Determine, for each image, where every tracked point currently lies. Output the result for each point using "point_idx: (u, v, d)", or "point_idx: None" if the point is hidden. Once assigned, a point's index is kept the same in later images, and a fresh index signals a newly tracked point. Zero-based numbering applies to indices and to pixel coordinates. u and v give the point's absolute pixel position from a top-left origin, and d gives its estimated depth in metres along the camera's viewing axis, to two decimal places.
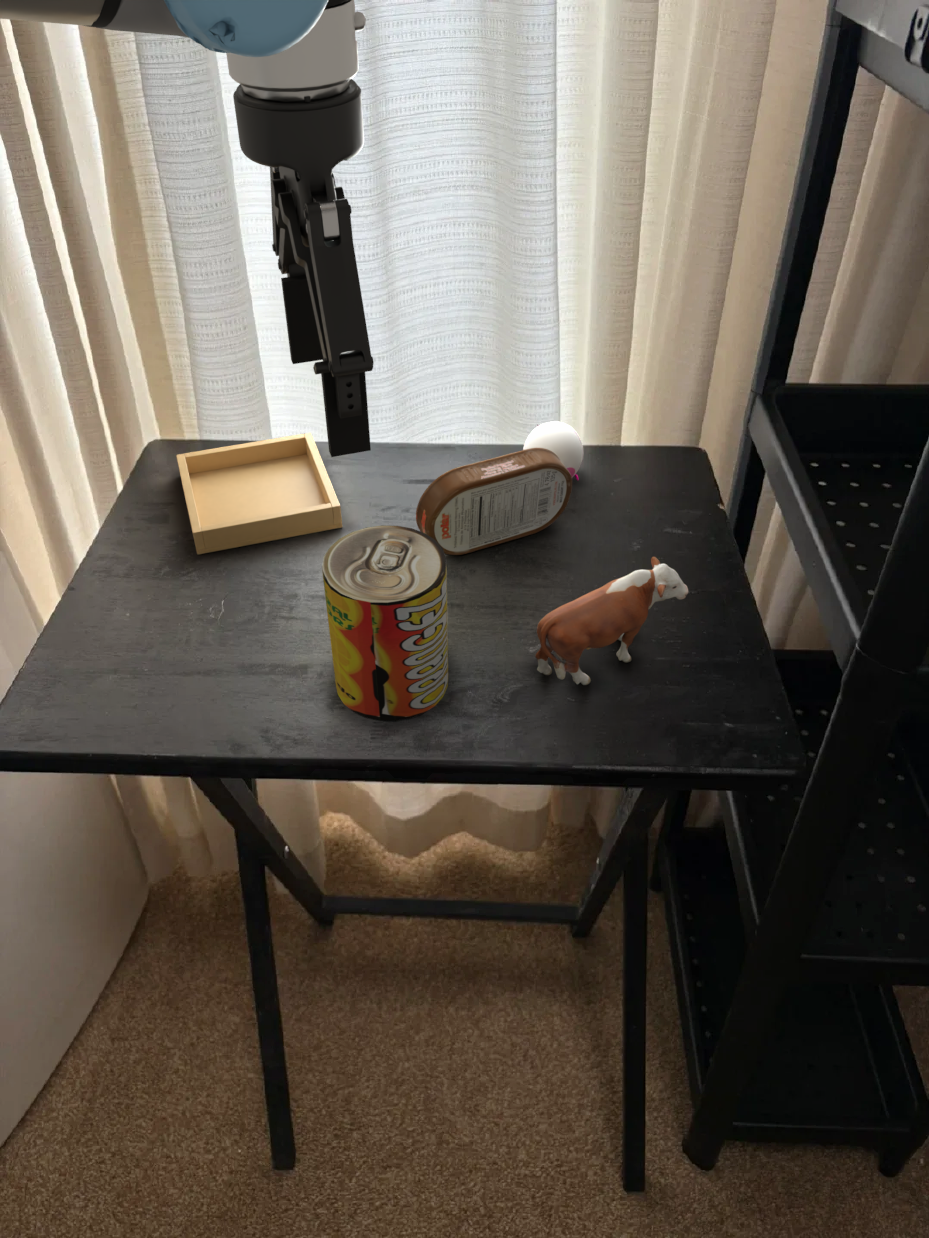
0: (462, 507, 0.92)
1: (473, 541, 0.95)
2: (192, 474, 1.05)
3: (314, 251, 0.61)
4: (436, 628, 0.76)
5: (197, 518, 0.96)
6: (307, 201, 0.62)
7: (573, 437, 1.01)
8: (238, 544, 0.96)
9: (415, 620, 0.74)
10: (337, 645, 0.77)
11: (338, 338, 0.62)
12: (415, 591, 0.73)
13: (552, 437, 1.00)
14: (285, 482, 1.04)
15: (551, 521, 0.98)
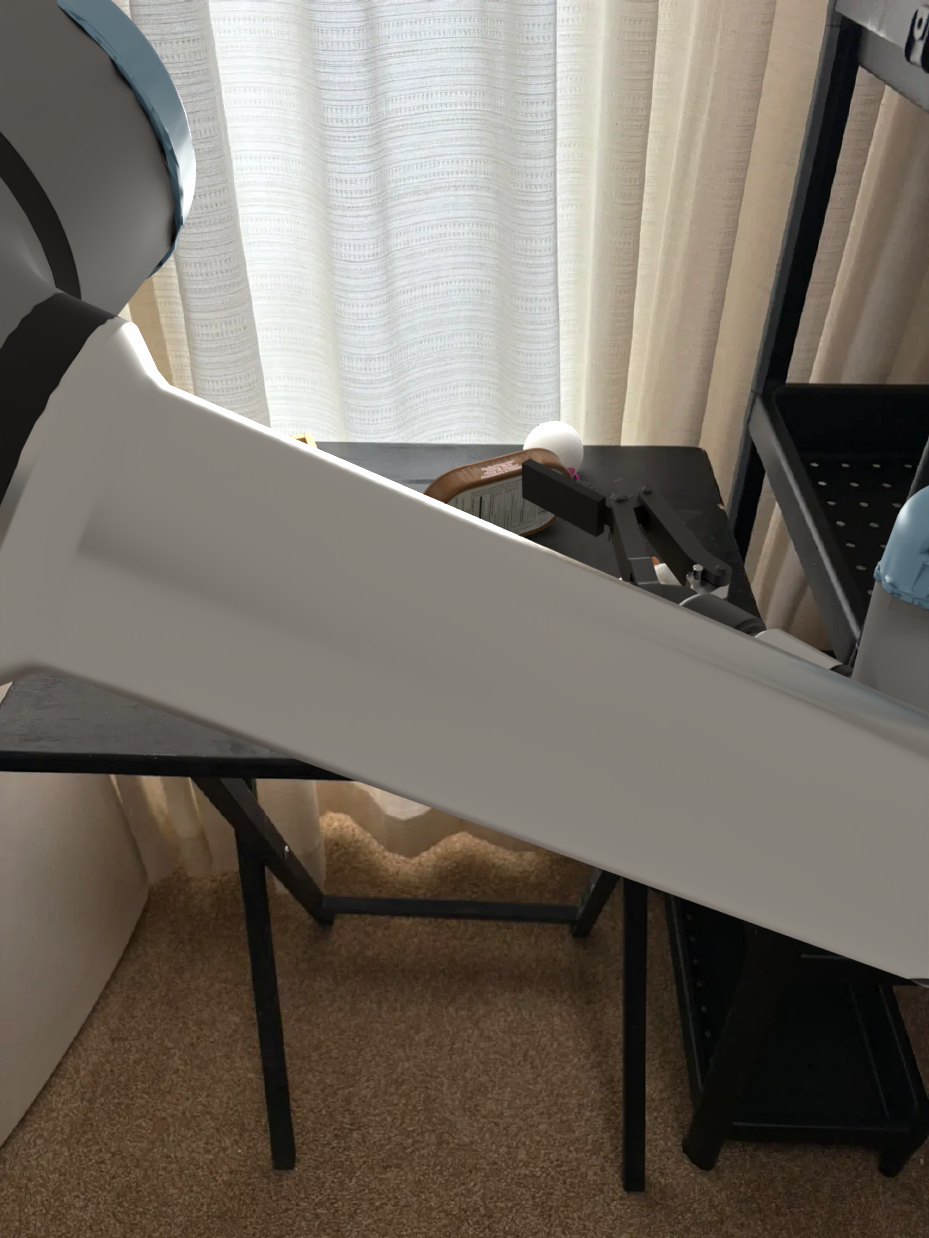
0: (462, 507, 0.92)
1: None
2: None
3: None
4: None
5: None
6: None
7: (573, 437, 1.01)
8: None
9: None
10: None
11: None
12: None
13: (552, 437, 1.00)
14: None
15: (551, 521, 0.98)
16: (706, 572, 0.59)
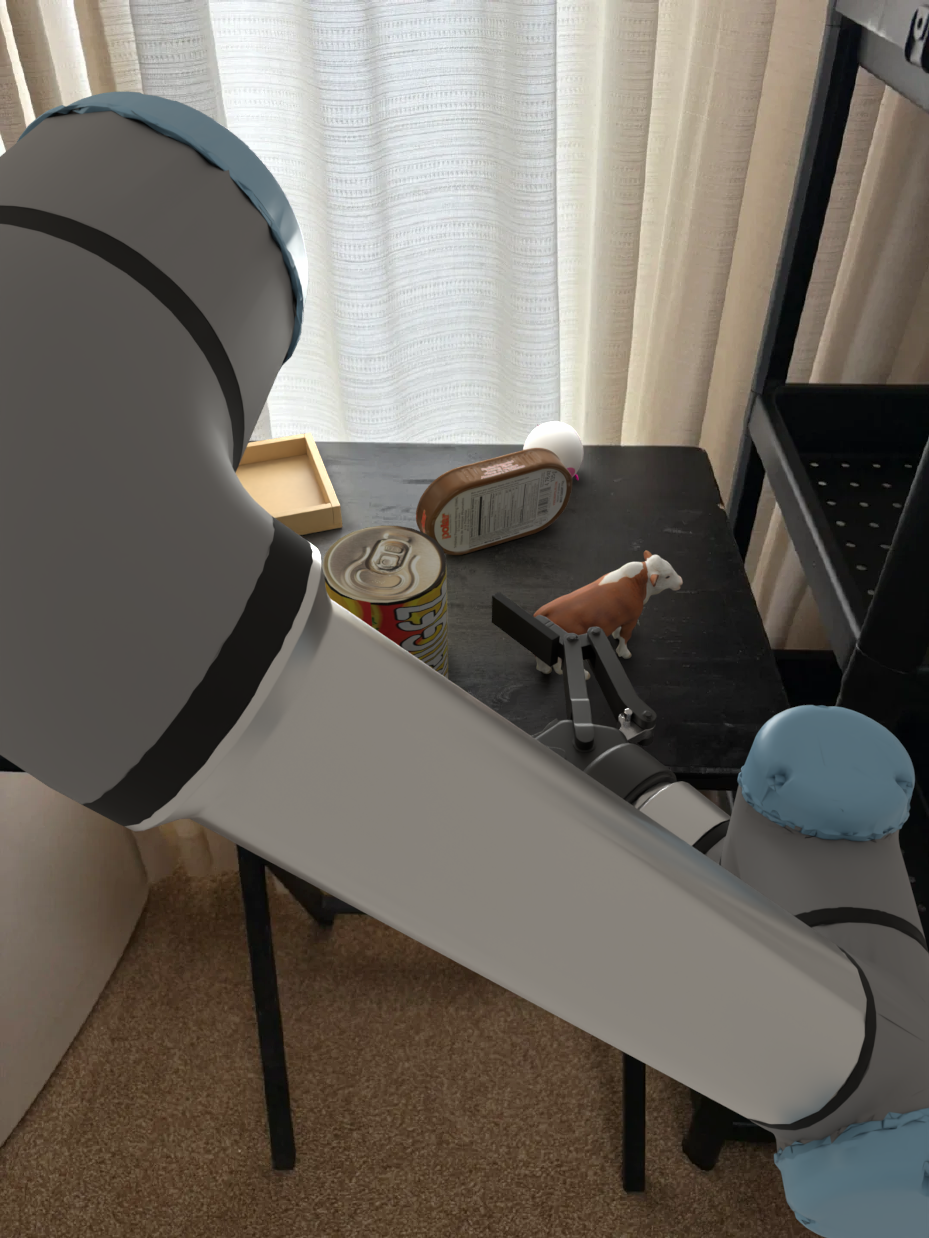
0: (462, 507, 0.92)
1: (473, 541, 0.95)
2: None
3: None
4: (436, 628, 0.76)
5: None
6: None
7: (573, 437, 1.01)
8: None
9: (415, 620, 0.74)
10: None
11: None
12: (415, 591, 0.73)
13: (552, 437, 1.00)
14: (285, 482, 1.04)
15: (551, 521, 0.98)
16: (635, 716, 0.70)
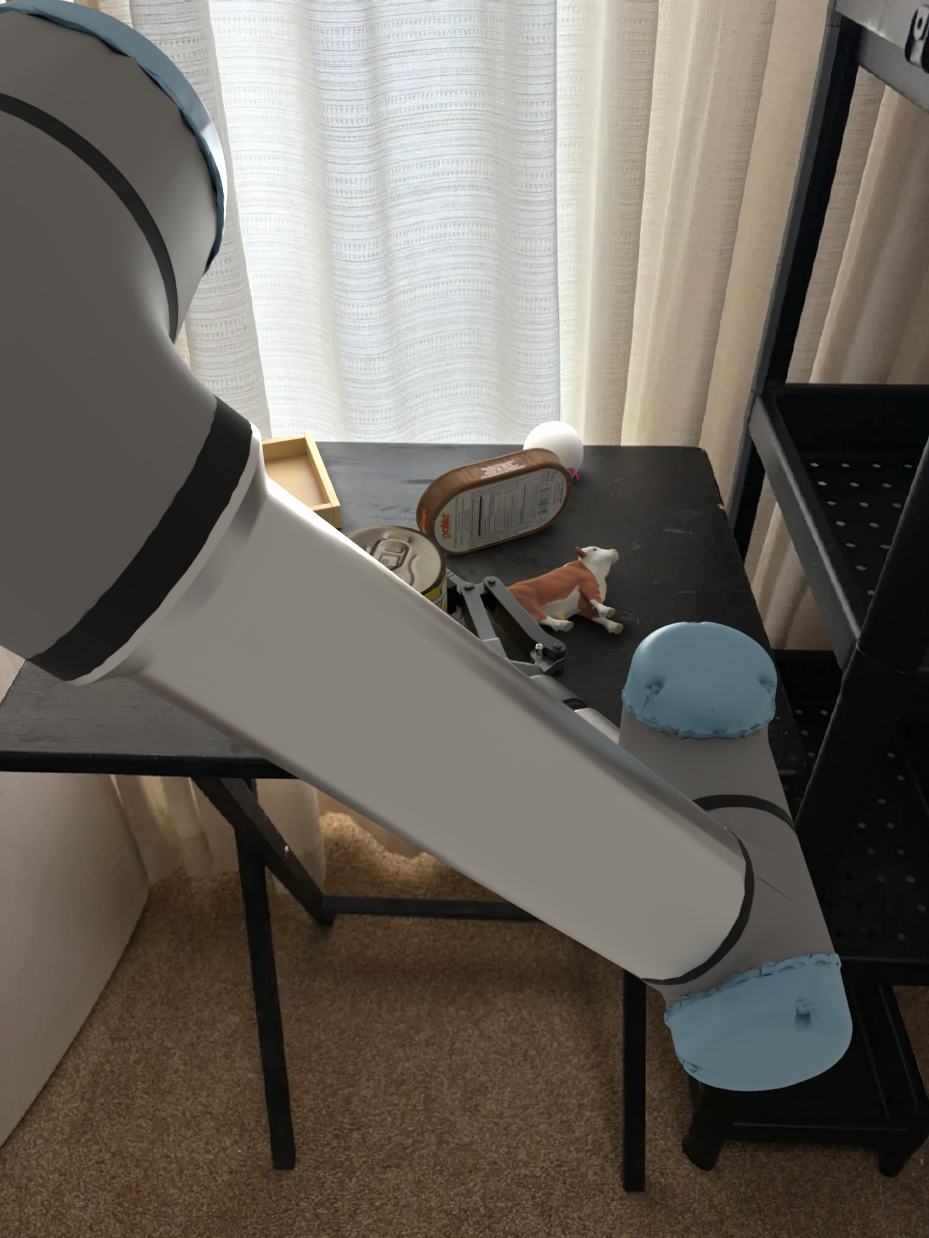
0: (462, 507, 0.92)
1: (473, 541, 0.95)
2: None
3: None
4: None
5: None
6: None
7: (573, 437, 1.01)
8: None
9: None
10: None
11: None
12: None
13: (552, 437, 1.00)
14: (285, 482, 1.04)
15: (551, 521, 0.98)
16: (546, 650, 0.74)
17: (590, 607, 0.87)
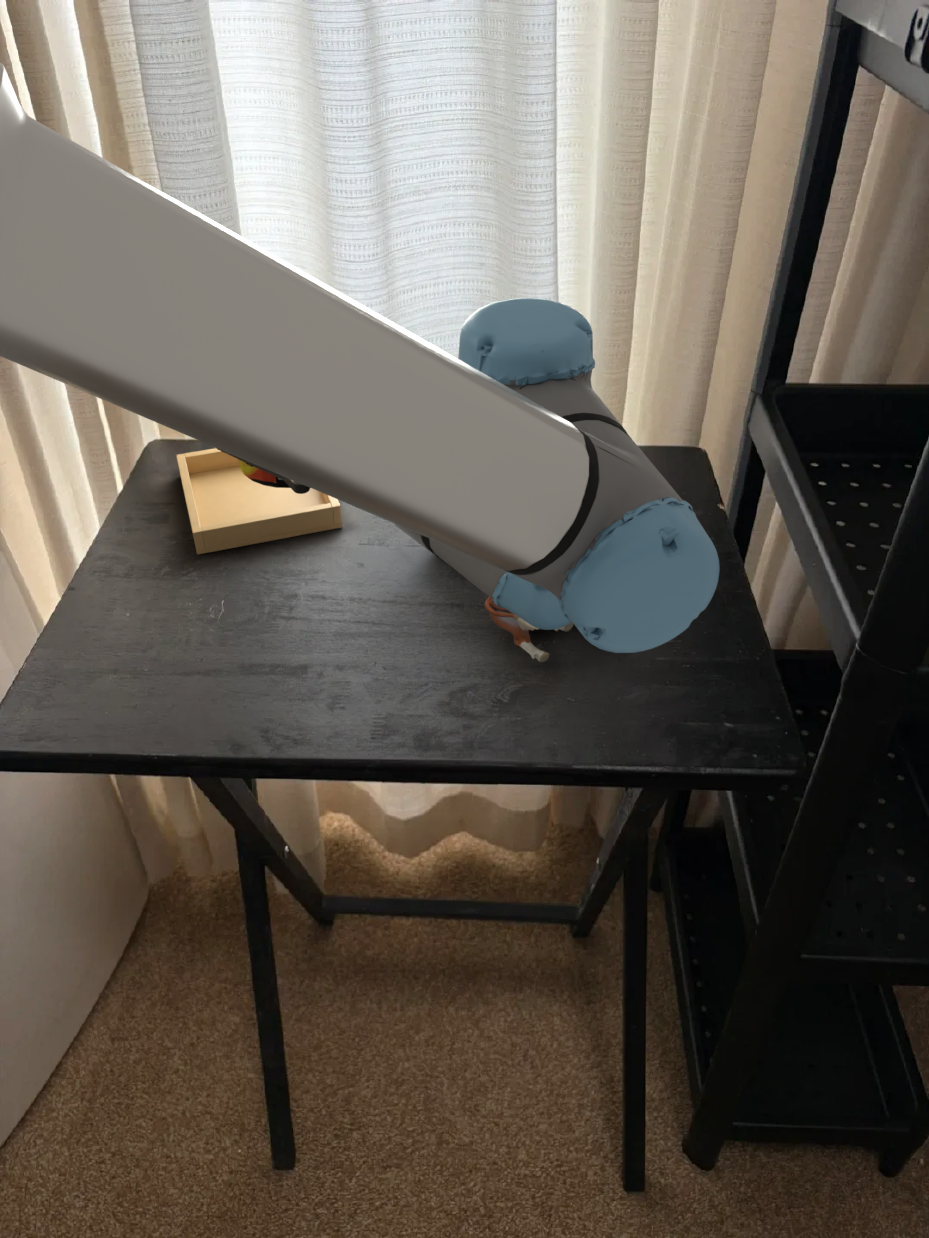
0: None
1: None
2: (192, 474, 1.05)
3: None
4: None
5: (197, 518, 0.96)
6: None
7: None
8: (238, 544, 0.96)
9: None
10: None
11: None
12: None
13: None
14: None
15: None
16: None
17: None
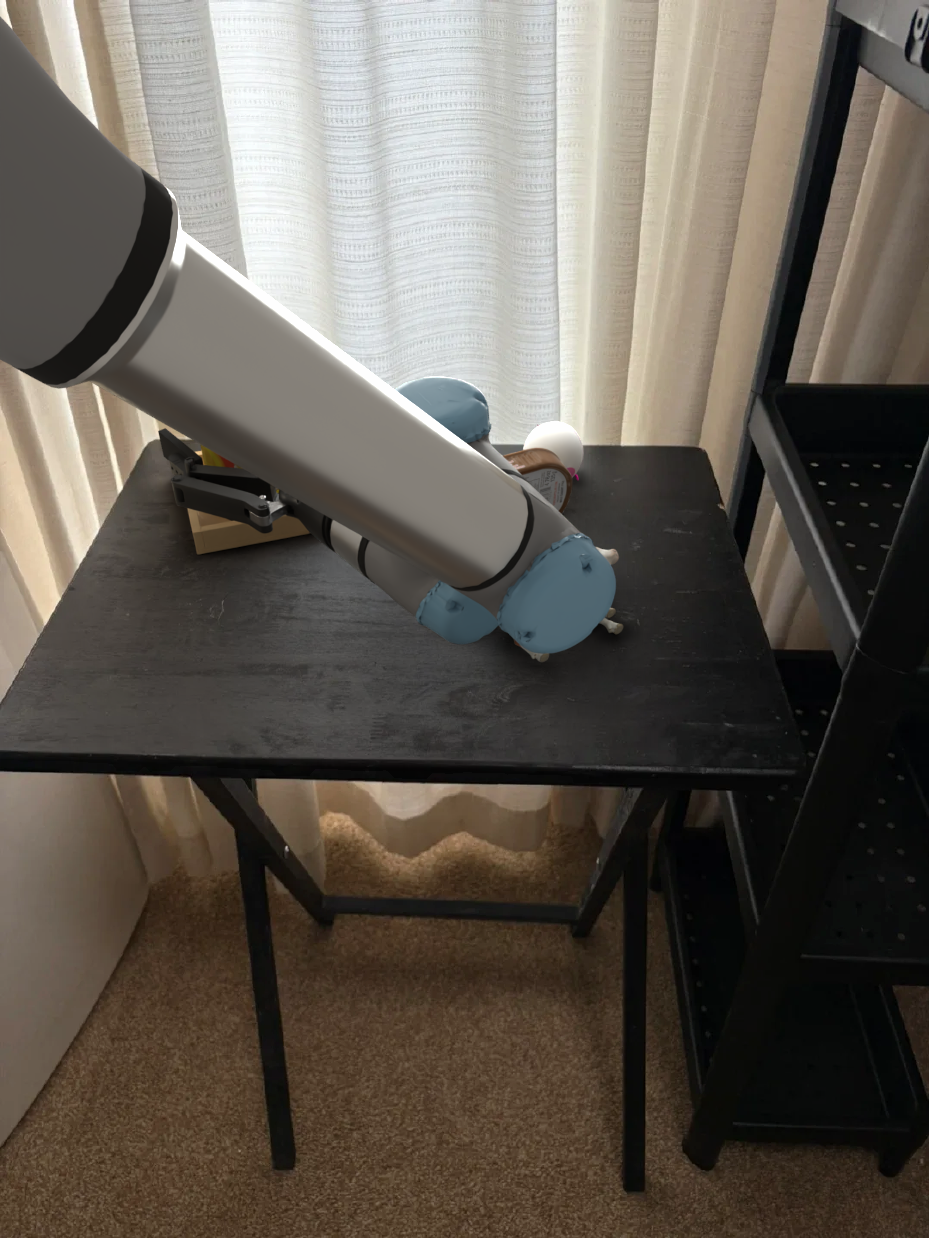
0: None
1: None
2: None
3: (241, 500, 0.87)
4: None
5: (197, 518, 0.96)
6: (284, 500, 0.87)
7: (573, 437, 1.01)
8: (238, 544, 0.96)
9: None
10: (205, 456, 0.96)
11: (191, 492, 0.88)
12: None
13: (552, 437, 1.00)
14: None
15: None
16: None
17: None
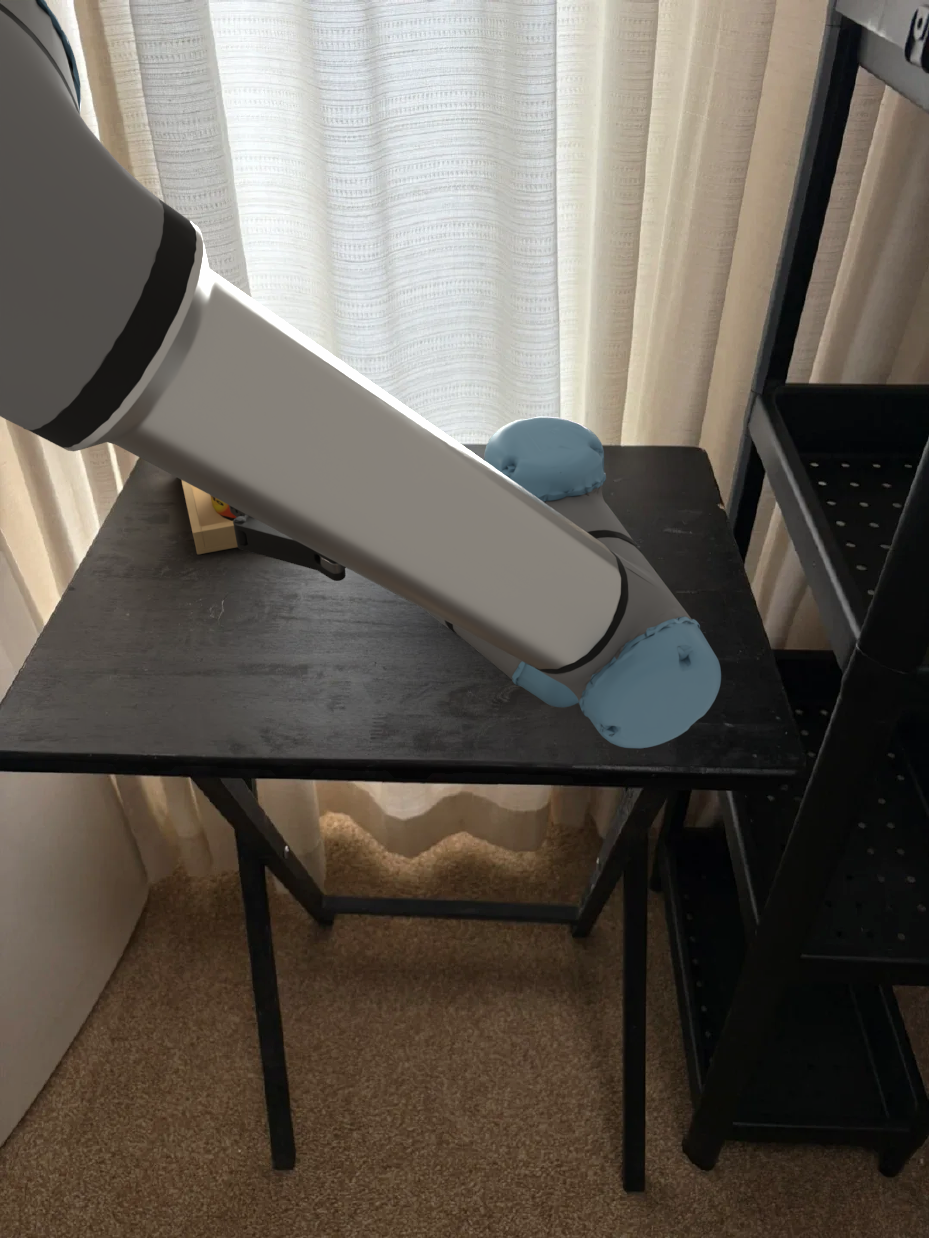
0: None
1: None
2: None
3: None
4: None
5: (197, 518, 0.96)
6: None
7: None
8: None
9: None
10: None
11: (255, 536, 0.81)
12: None
13: None
14: None
15: None
16: None
17: None
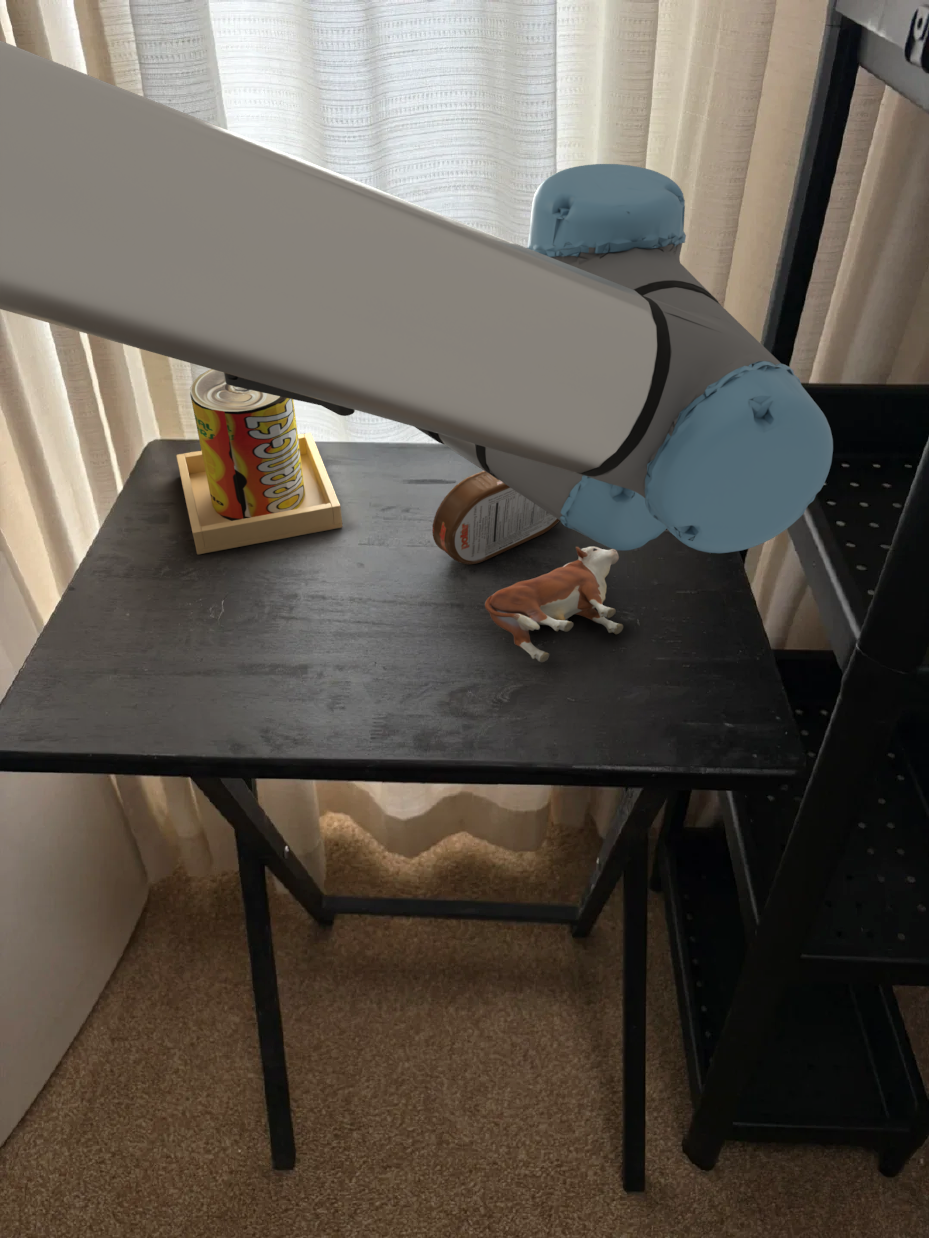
0: (480, 515, 0.91)
1: (489, 548, 0.94)
2: (192, 474, 1.05)
3: None
4: (283, 440, 0.95)
5: (197, 518, 0.96)
6: None
7: None
8: (238, 544, 0.96)
9: (263, 430, 0.92)
10: (205, 456, 0.96)
11: None
12: (261, 404, 0.91)
13: None
14: None
15: None
16: None
17: (590, 607, 0.87)
